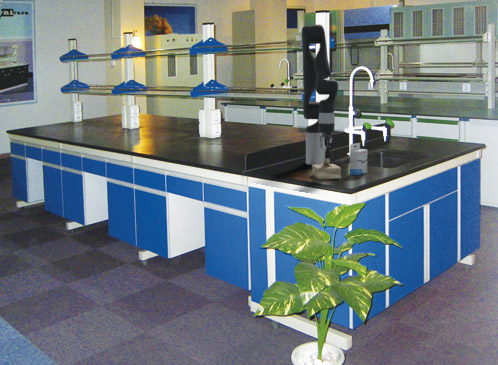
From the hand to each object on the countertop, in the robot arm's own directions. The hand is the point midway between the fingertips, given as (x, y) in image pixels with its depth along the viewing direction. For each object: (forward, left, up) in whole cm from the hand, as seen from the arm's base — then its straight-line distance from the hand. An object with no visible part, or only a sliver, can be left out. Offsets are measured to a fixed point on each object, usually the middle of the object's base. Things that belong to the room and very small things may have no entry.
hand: (326, 157), depth 291 cm
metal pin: (0, 0, -4) cm, 4 cm away
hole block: (0, 0, -9) cm, 9 cm away
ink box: (-3, +18, -10) cm, 20 cm away
